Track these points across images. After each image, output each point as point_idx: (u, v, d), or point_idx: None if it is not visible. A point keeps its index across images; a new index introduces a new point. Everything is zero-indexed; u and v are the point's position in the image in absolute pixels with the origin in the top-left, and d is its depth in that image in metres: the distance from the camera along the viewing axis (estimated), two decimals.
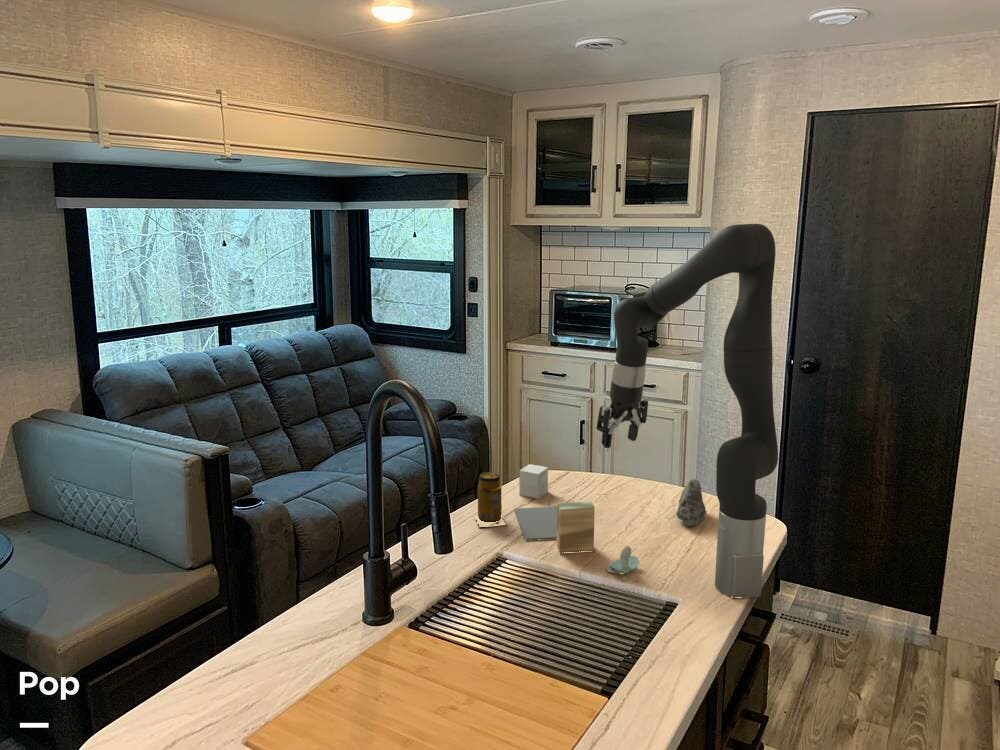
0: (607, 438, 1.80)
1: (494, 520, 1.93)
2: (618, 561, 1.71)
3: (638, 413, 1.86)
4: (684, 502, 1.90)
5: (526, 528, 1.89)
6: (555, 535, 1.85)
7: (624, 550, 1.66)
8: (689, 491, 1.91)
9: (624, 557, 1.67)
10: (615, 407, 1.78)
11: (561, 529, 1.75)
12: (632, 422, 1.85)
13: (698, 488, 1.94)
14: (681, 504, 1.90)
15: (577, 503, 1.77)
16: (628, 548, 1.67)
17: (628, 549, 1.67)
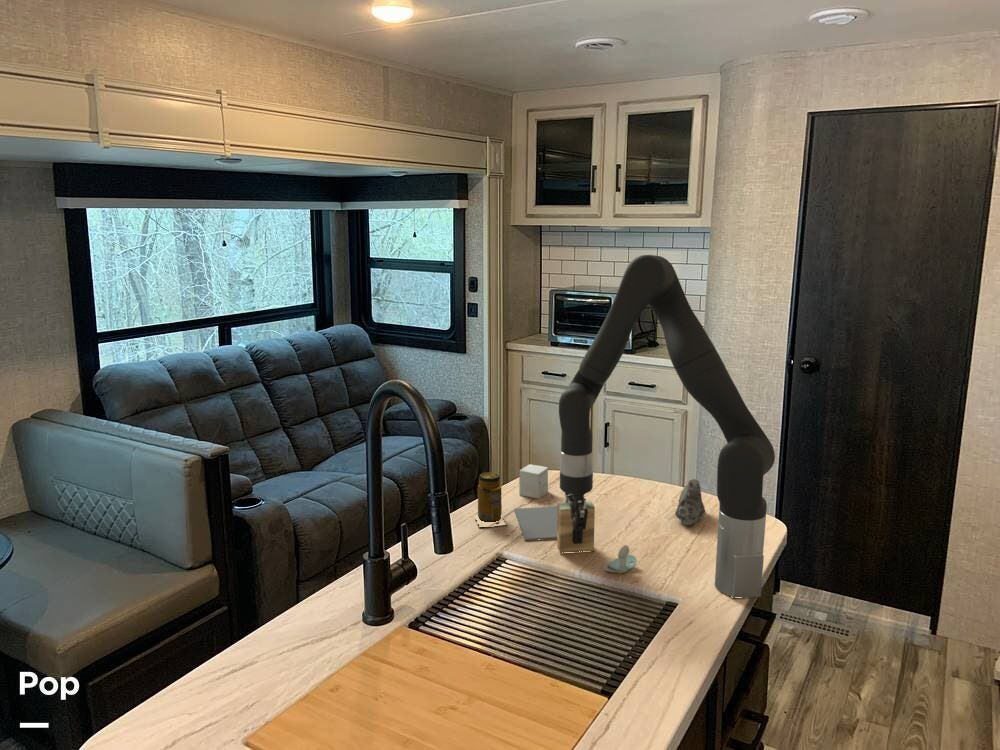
0: None
1: (494, 520, 1.93)
2: (616, 560, 1.71)
3: None
4: (683, 502, 1.90)
5: (526, 528, 1.89)
6: (555, 535, 1.85)
7: (622, 549, 1.67)
8: (688, 491, 1.92)
9: (622, 556, 1.67)
10: (583, 501, 1.72)
11: (561, 529, 1.75)
12: None
13: (697, 488, 1.94)
14: (680, 504, 1.90)
15: None
16: (626, 547, 1.67)
17: (626, 548, 1.67)
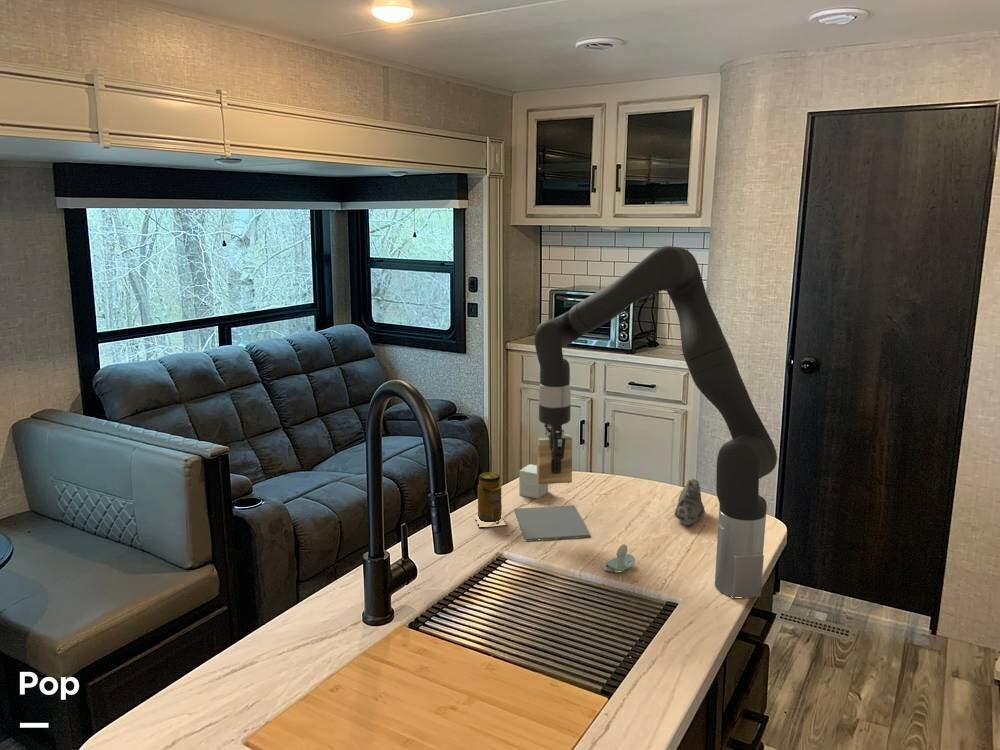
0: (559, 463, 1.82)
1: (494, 520, 1.93)
2: (614, 559, 1.72)
3: None
4: (682, 501, 1.90)
5: (526, 528, 1.89)
6: (555, 535, 1.85)
7: (620, 548, 1.67)
8: (687, 491, 1.92)
9: (620, 555, 1.68)
10: (561, 431, 1.79)
11: (540, 459, 1.83)
12: None
13: (697, 488, 1.94)
14: (679, 503, 1.90)
15: None
16: (624, 546, 1.68)
17: (624, 547, 1.67)
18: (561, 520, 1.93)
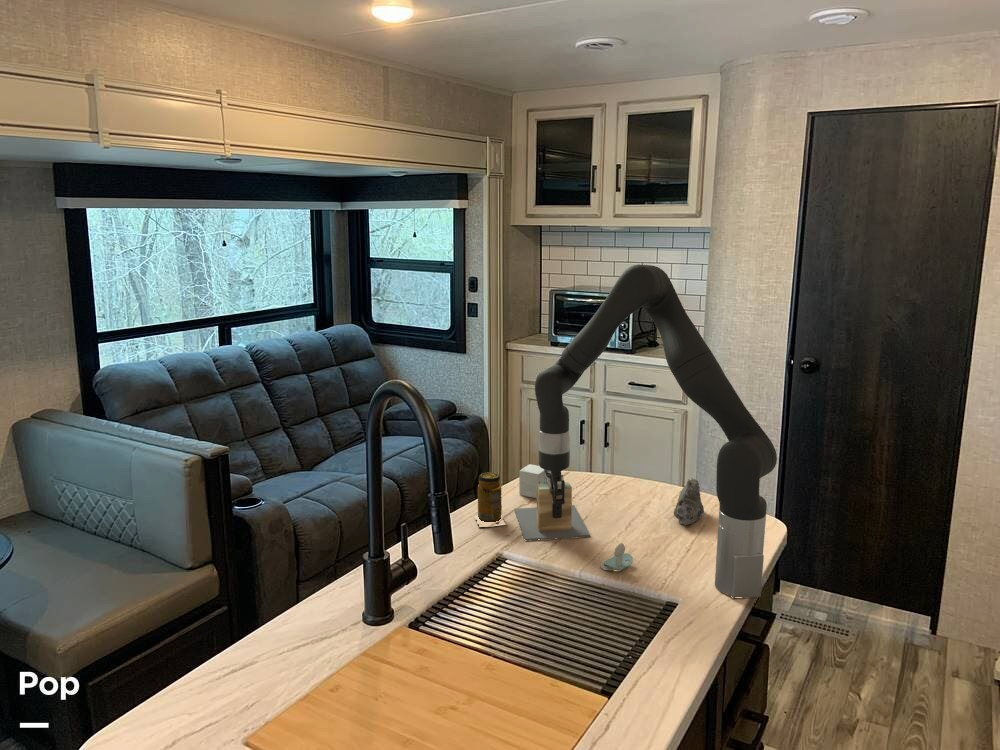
0: (560, 508, 1.83)
1: (494, 520, 1.93)
2: (612, 558, 1.72)
3: None
4: (681, 501, 1.91)
5: (526, 528, 1.89)
6: (555, 535, 1.85)
7: (618, 547, 1.68)
8: (686, 490, 1.92)
9: (618, 554, 1.68)
10: (560, 476, 1.82)
11: (540, 508, 1.85)
12: None
13: (696, 488, 1.94)
14: (678, 503, 1.91)
15: None
16: (622, 545, 1.68)
17: (622, 546, 1.68)
18: None
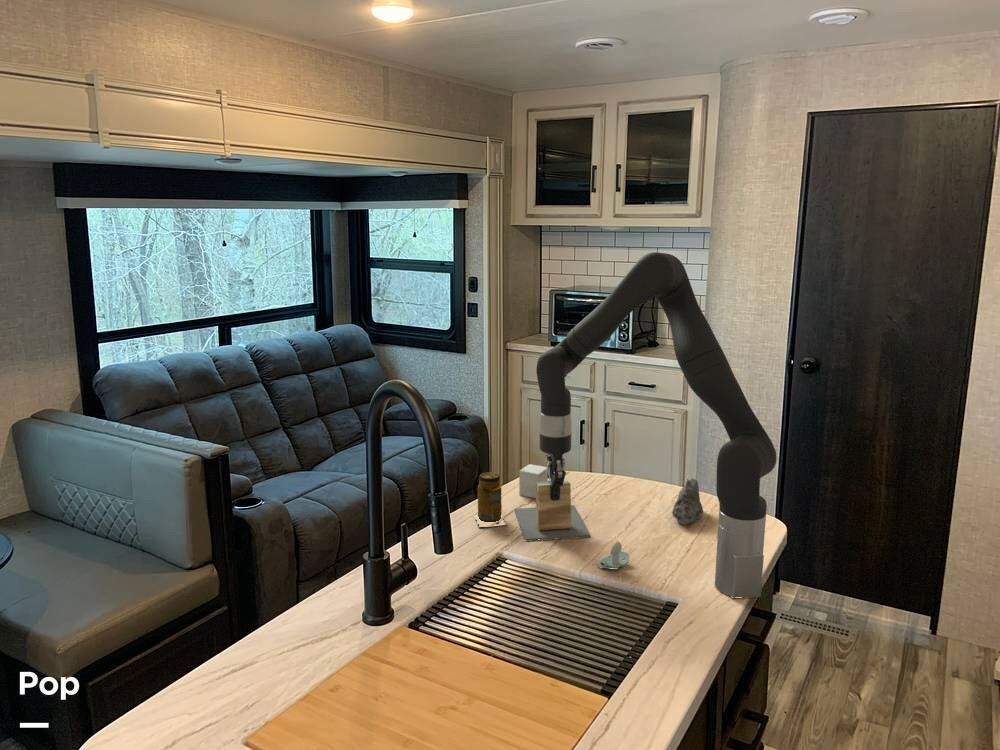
0: (558, 490, 1.83)
1: (494, 520, 1.93)
2: (609, 557, 1.73)
3: None
4: (679, 501, 1.91)
5: (526, 528, 1.89)
6: (555, 535, 1.85)
7: (614, 546, 1.68)
8: (685, 490, 1.92)
9: (614, 553, 1.69)
10: (562, 462, 1.78)
11: (539, 505, 1.86)
12: None
13: (695, 487, 1.94)
14: (676, 503, 1.91)
15: None
16: (618, 544, 1.69)
17: (618, 545, 1.69)
18: None
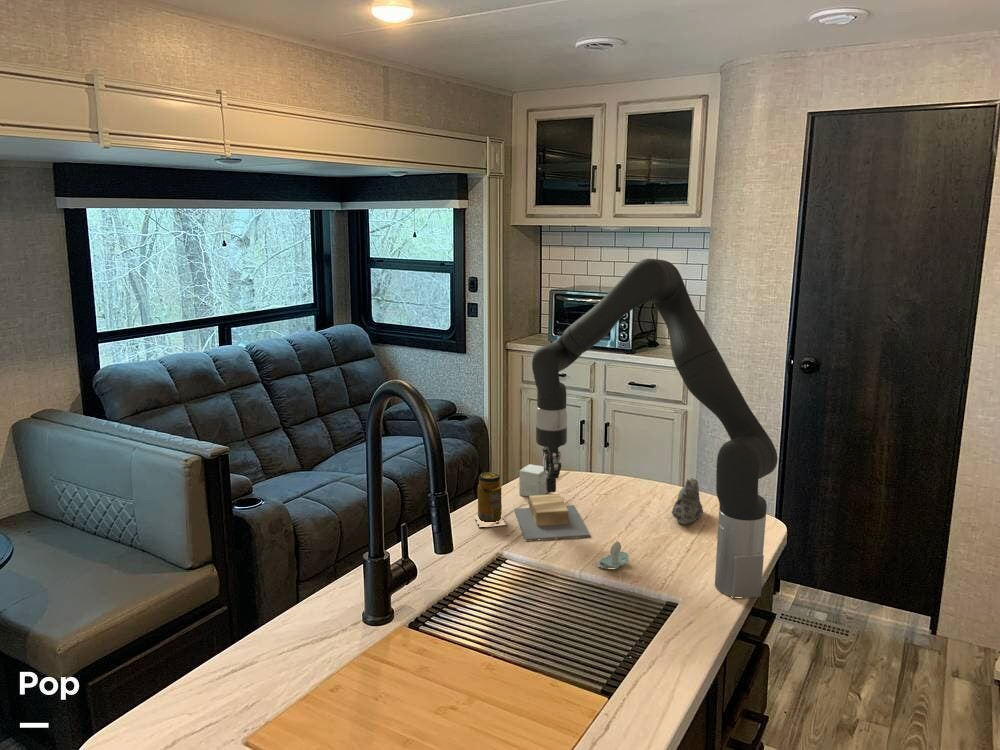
0: (554, 482, 1.88)
1: (494, 520, 1.93)
2: (608, 557, 1.73)
3: None
4: (679, 501, 1.91)
5: (526, 528, 1.89)
6: (555, 535, 1.85)
7: (614, 546, 1.68)
8: (685, 490, 1.92)
9: (614, 552, 1.69)
10: (558, 455, 1.83)
11: (533, 502, 1.96)
12: None
13: (695, 487, 1.94)
14: (676, 502, 1.91)
15: None
16: (618, 544, 1.69)
17: (618, 545, 1.69)
18: None
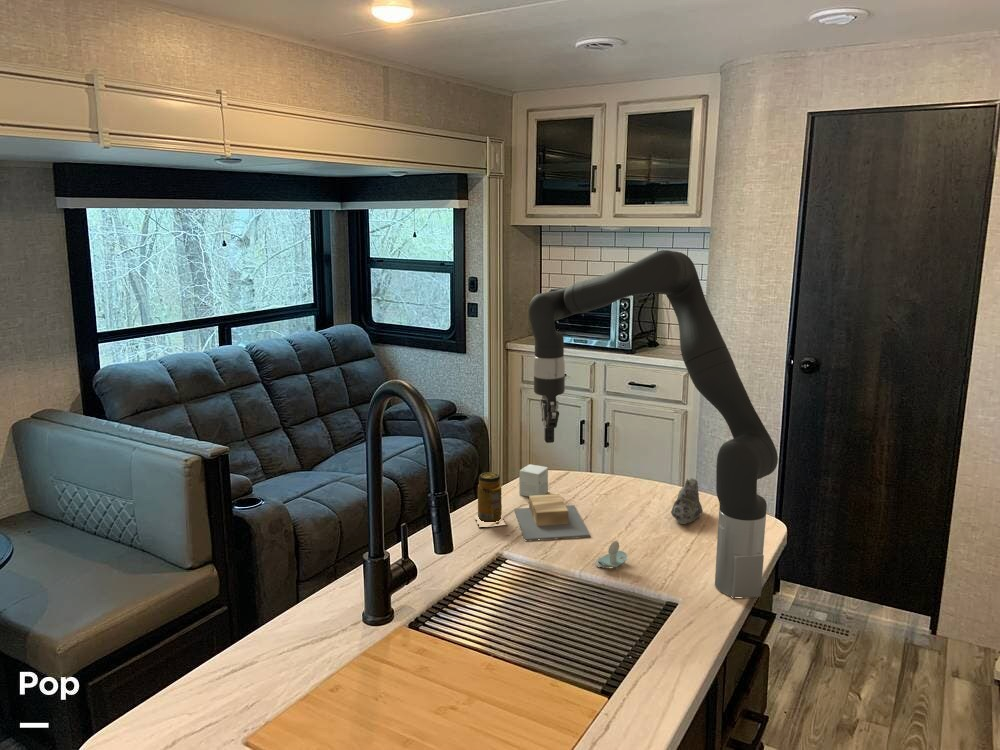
0: (552, 432, 1.89)
1: (494, 520, 1.93)
2: (606, 556, 1.73)
3: None
4: (678, 501, 1.91)
5: (526, 528, 1.89)
6: (555, 535, 1.85)
7: (612, 545, 1.69)
8: (684, 490, 1.92)
9: (612, 552, 1.69)
10: (555, 403, 1.84)
11: (533, 502, 1.96)
12: None
13: (694, 487, 1.94)
14: (675, 502, 1.91)
15: None
16: (616, 543, 1.69)
17: (616, 544, 1.69)
18: None
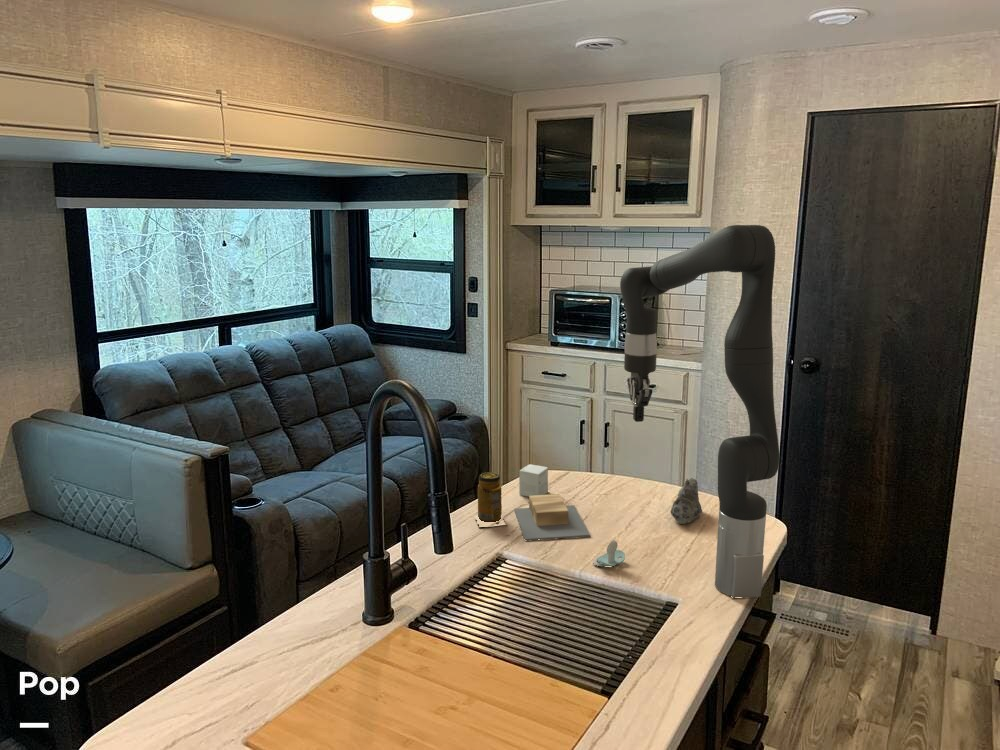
0: None
1: (494, 520, 1.93)
2: (605, 555, 1.74)
3: None
4: (678, 500, 1.91)
5: (526, 528, 1.89)
6: (555, 535, 1.85)
7: (610, 544, 1.69)
8: (684, 490, 1.92)
9: (610, 551, 1.70)
10: (648, 381, 1.80)
11: (533, 502, 1.96)
12: None
13: (694, 487, 1.94)
14: (674, 502, 1.91)
15: None
16: (614, 542, 1.70)
17: (614, 543, 1.69)
18: None
